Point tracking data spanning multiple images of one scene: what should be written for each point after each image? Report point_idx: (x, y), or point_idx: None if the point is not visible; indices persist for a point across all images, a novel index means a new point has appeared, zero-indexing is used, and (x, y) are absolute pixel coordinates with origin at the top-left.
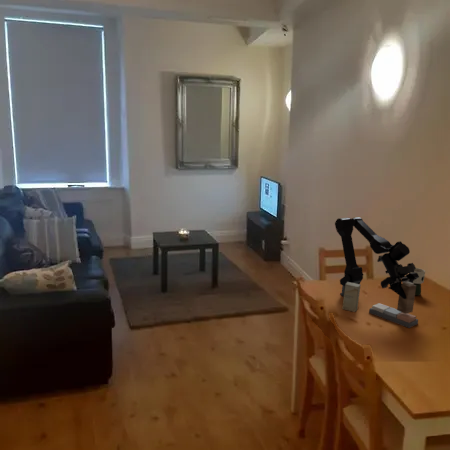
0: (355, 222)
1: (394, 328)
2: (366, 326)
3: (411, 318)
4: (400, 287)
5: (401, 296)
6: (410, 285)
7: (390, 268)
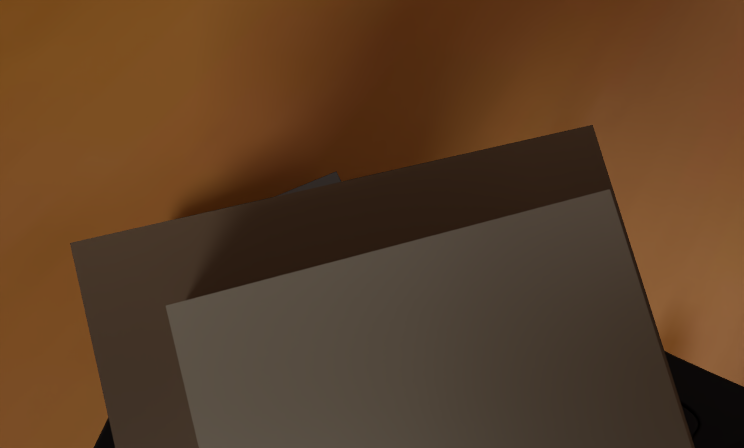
0: None
1: None
2: (707, 298)
3: None
4: (723, 410)
5: None
6: (473, 231)
7: None
